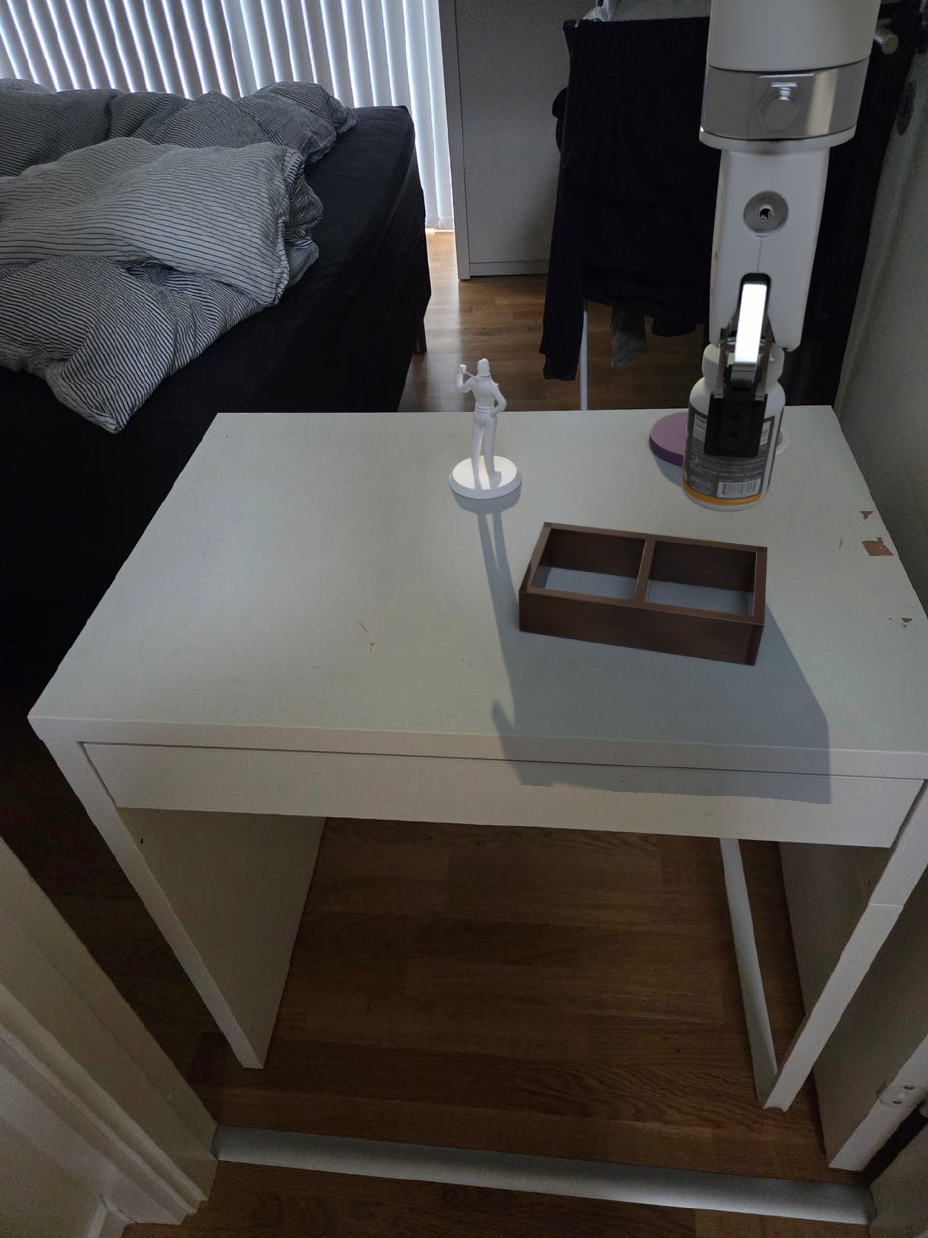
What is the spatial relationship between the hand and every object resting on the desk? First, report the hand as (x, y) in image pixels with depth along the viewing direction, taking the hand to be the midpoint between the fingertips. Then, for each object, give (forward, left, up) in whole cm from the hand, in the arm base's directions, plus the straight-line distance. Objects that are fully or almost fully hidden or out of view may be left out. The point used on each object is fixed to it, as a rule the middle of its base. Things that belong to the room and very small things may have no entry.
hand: (733, 426), depth 54 cm
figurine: (+22, -16, -17) cm, 32 cm away
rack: (+5, 0, -16) cm, 17 cm away
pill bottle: (0, 0, -5) cm, 5 cm away
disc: (+3, -26, -16) cm, 31 cm away
